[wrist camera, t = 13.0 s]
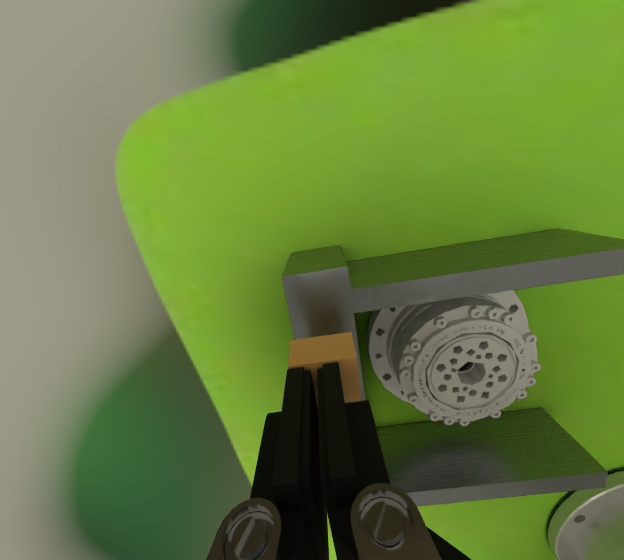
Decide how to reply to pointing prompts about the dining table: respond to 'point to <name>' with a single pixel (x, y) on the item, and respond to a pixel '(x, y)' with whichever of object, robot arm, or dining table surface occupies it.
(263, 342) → the dining table surface
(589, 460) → the bracket
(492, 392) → the mechanical component
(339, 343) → the bar
